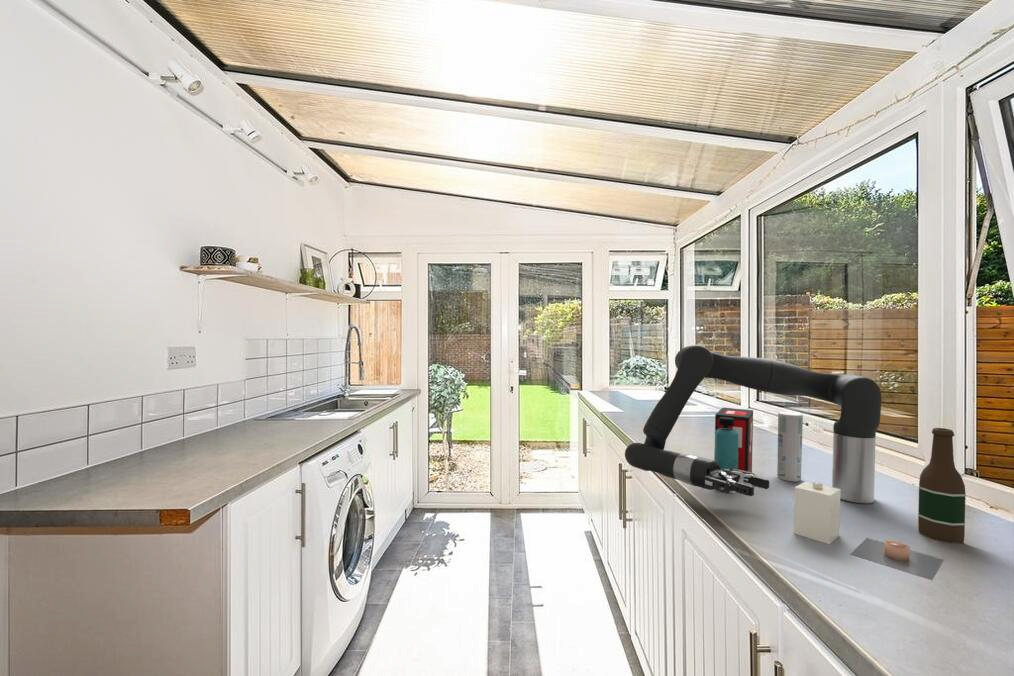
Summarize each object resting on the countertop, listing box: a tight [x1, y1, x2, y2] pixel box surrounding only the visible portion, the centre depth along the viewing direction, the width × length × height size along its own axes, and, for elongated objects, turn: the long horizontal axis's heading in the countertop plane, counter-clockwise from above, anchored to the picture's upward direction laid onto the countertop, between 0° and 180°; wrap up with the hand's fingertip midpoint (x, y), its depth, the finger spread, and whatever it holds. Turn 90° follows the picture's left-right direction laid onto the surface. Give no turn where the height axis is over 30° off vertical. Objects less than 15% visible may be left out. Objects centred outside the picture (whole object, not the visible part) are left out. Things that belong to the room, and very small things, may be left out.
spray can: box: [776, 411, 804, 482], centre depth 142 cm, size 6×6×20 cm
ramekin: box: [883, 539, 911, 562], centre depth 90 cm, size 4×4×2 cm
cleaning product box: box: [714, 407, 754, 482], centre depth 143 cm, size 16×9×20 cm, turn 148°
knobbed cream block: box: [793, 480, 841, 545], centre depth 100 cm, size 7×7×11 cm
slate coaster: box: [849, 537, 944, 581], centre depth 90 cm, size 12×12×1 cm
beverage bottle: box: [713, 417, 739, 470], centre depth 133 cm, size 6×7×20 cm
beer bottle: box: [917, 427, 966, 545], centre depth 100 cm, size 8×8×24 cm
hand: (761, 488), depth 109 cm, fingers open, 8 cm apart
